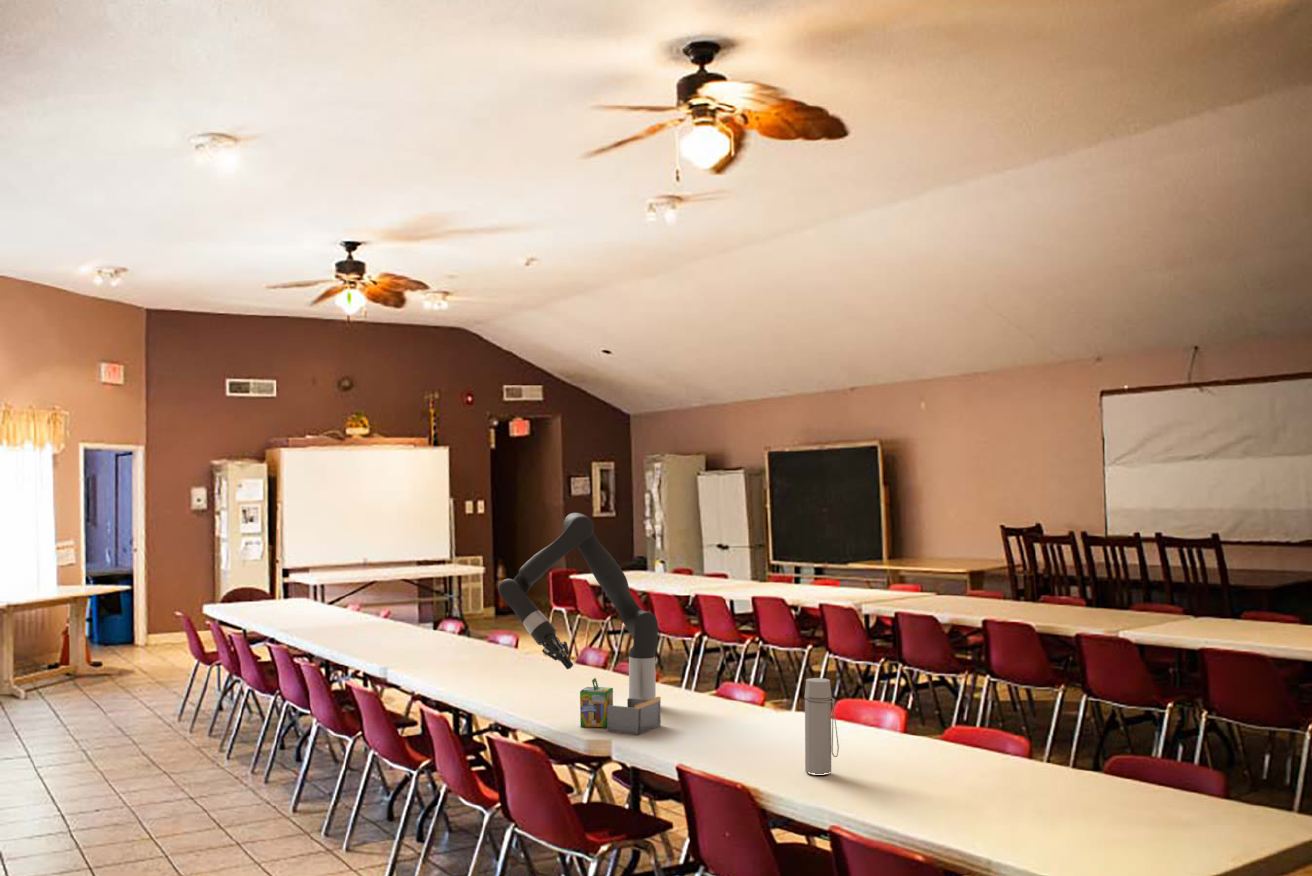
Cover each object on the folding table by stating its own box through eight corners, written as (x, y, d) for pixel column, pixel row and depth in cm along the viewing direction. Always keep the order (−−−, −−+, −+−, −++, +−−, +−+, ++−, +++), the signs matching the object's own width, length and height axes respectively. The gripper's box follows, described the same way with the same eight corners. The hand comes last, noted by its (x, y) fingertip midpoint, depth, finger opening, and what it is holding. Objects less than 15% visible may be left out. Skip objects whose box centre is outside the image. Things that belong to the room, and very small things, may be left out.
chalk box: (607, 728, 365) (607, 681, 366) (579, 727, 367) (579, 680, 368) (614, 722, 374) (614, 677, 375) (586, 721, 376) (587, 676, 377)
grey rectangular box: (630, 722, 374) (630, 694, 375) (660, 725, 369) (660, 696, 370) (606, 732, 360) (606, 702, 360) (637, 735, 355) (637, 705, 355)
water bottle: (801, 776, 306) (801, 681, 307) (808, 769, 313) (807, 676, 314) (835, 779, 302) (835, 683, 303) (841, 772, 310) (841, 679, 311)
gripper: (535, 622, 375) (567, 662, 369) (556, 618, 387) (587, 657, 381) (521, 637, 377) (553, 677, 371) (543, 633, 389) (573, 672, 383)
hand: (570, 667), depth 376 cm, fingers closed
